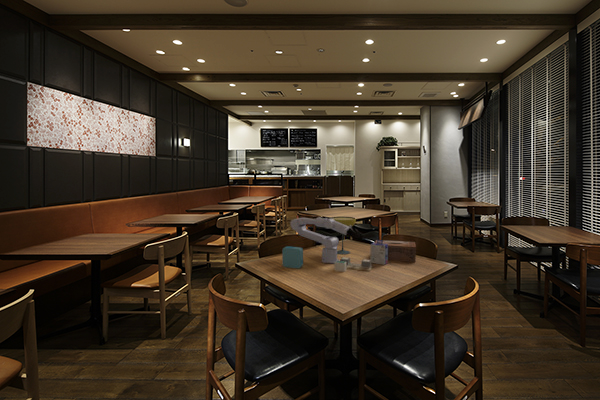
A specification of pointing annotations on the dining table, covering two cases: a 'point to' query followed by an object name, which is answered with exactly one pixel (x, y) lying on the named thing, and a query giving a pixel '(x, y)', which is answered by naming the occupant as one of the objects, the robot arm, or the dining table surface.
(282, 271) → the dining table surface
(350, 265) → the din rail
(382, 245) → the ink cartridge box
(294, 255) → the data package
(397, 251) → the tissue box cover
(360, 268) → the rail board
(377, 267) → the dining table surface
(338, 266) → the block
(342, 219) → the cocktail glass
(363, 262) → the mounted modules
